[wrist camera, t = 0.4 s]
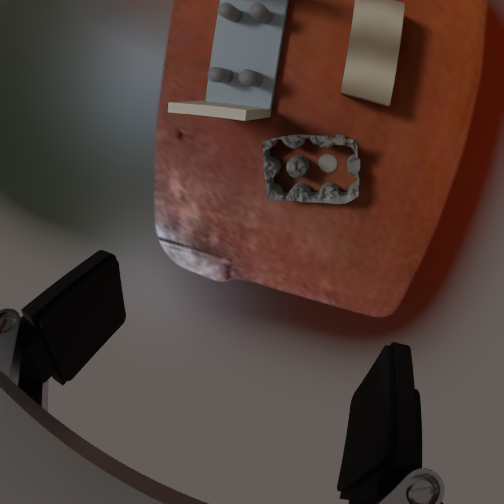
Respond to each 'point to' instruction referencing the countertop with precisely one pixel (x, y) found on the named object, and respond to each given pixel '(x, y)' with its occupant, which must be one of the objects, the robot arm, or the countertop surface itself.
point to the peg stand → (242, 61)
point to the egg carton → (300, 166)
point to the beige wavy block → (373, 50)
